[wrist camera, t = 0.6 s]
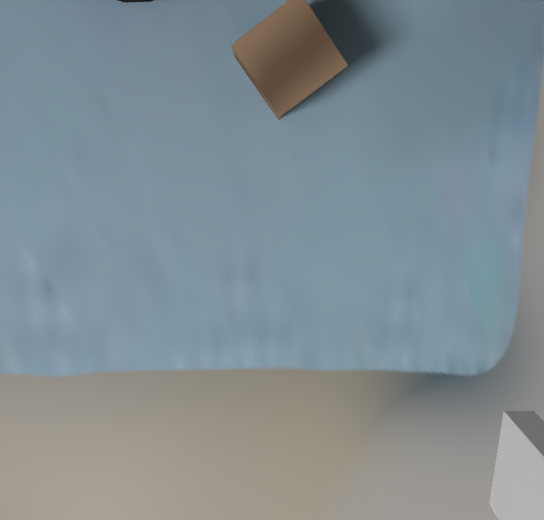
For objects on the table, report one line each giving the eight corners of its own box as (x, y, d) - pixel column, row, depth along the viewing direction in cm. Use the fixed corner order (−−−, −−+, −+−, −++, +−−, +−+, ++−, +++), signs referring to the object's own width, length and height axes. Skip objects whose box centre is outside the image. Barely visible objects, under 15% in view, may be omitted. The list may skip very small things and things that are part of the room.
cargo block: (236, 58, 35) (231, 45, 30) (295, 12, 34) (300, -9, 29) (278, 119, 36) (280, 116, 31) (336, 75, 35) (348, 65, 30)
